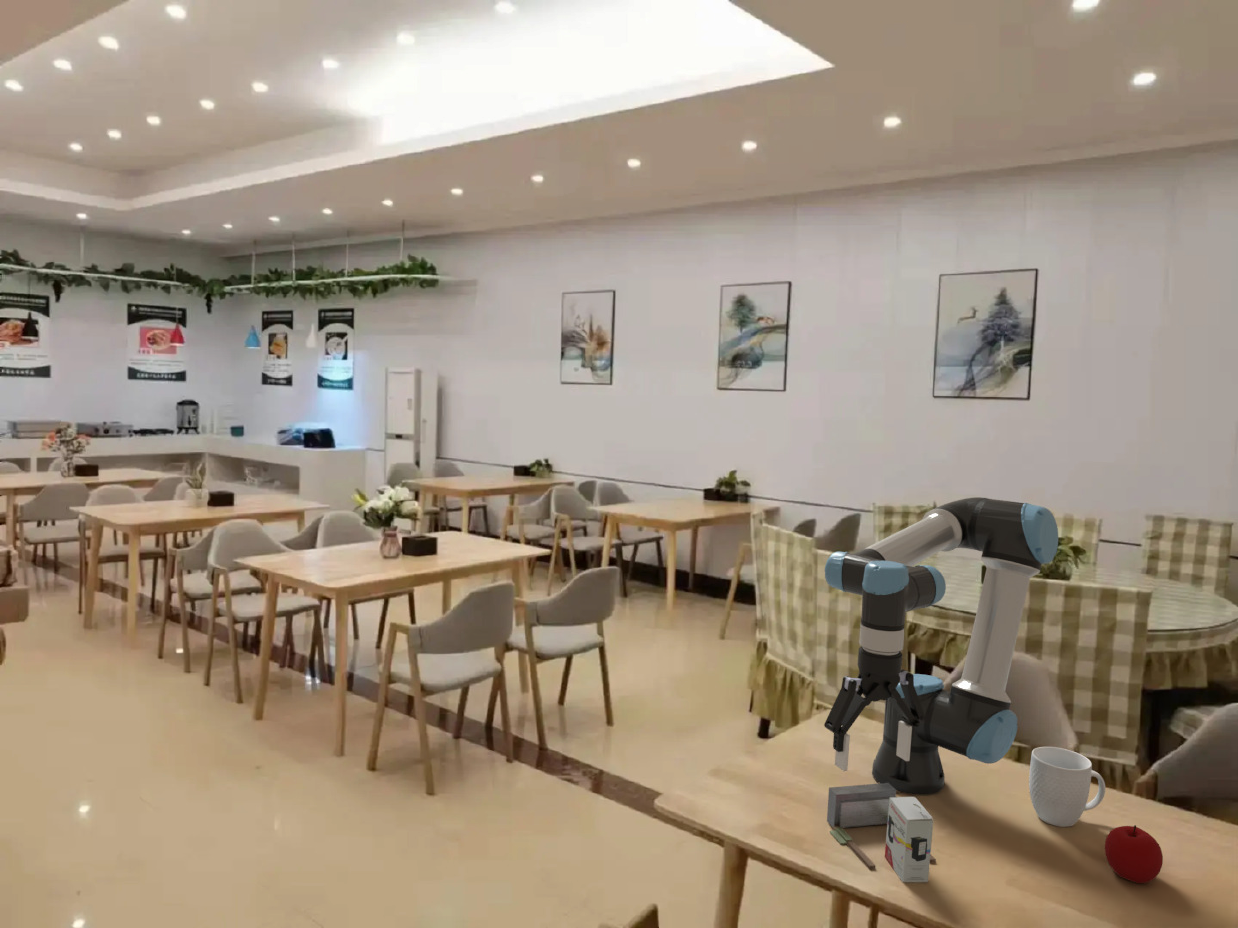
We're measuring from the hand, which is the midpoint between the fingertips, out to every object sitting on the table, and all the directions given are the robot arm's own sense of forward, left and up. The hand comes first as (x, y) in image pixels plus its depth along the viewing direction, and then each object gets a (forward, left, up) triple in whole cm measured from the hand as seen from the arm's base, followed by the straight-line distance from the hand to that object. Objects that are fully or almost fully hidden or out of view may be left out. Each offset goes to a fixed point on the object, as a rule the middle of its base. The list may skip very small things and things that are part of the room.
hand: (872, 763), depth 157 cm
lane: (-6, -4, -19) cm, 20 cm away
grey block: (-6, -13, -19) cm, 23 cm away
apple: (-46, +13, -19) cm, 51 cm away
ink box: (-6, +4, -19) cm, 20 cm away
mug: (-48, -7, -19) cm, 52 cm away
